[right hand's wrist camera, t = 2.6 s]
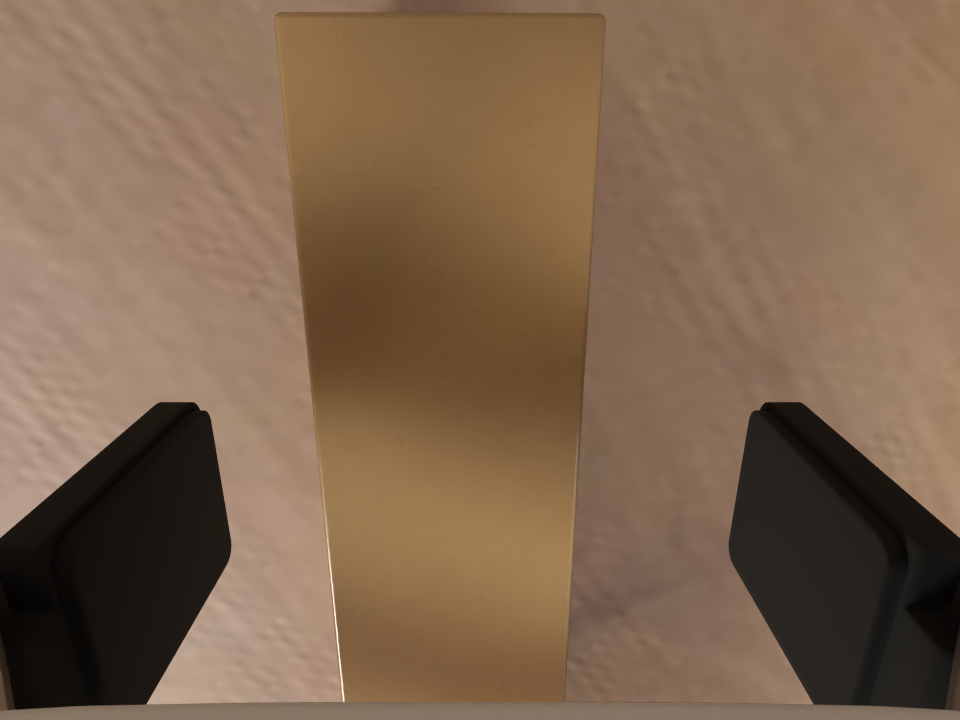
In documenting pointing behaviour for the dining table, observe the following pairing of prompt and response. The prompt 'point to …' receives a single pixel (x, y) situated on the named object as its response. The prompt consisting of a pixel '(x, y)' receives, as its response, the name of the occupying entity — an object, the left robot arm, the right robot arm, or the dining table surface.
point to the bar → (446, 334)
